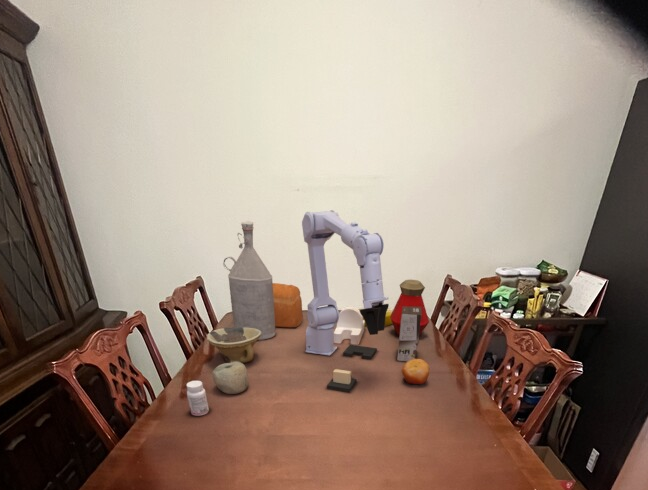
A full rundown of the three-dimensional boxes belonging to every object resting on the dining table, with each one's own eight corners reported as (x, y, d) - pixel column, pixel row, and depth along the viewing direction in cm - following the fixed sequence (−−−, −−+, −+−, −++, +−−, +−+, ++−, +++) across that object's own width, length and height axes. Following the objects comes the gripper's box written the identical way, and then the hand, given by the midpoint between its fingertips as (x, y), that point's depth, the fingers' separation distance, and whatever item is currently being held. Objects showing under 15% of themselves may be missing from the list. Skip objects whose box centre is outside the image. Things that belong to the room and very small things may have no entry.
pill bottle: (192, 407, 114) (186, 380, 109) (210, 407, 114) (205, 379, 109) (189, 416, 110) (183, 388, 105) (207, 415, 110) (202, 387, 105)
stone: (258, 369, 125) (243, 356, 116) (248, 401, 124) (232, 391, 114) (229, 364, 128) (212, 351, 119) (220, 396, 127) (202, 385, 117)
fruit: (430, 371, 130) (432, 355, 123) (426, 392, 127) (427, 377, 120) (405, 368, 132) (404, 352, 125) (399, 388, 129) (399, 374, 122)
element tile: (373, 313, 184) (374, 302, 182) (400, 321, 175) (401, 310, 172) (349, 321, 176) (350, 309, 173) (376, 329, 167) (377, 318, 164)
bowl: (274, 359, 142) (272, 332, 137) (231, 375, 131) (227, 346, 126) (242, 346, 152) (239, 320, 147) (200, 360, 141) (195, 333, 136)
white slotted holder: (332, 342, 155) (333, 314, 149) (341, 327, 169) (341, 300, 163) (358, 344, 153) (359, 315, 147) (364, 328, 168) (365, 301, 162)
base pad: (342, 355, 144) (343, 352, 144) (349, 347, 151) (350, 344, 150) (370, 359, 141) (371, 356, 141) (376, 351, 148) (376, 348, 147)
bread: (296, 329, 167) (294, 289, 158) (234, 325, 171) (230, 286, 162) (304, 318, 178) (303, 280, 170) (246, 315, 182) (242, 278, 174)
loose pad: (327, 388, 123) (327, 374, 121) (336, 376, 130) (337, 362, 128) (349, 392, 121) (349, 377, 119) (358, 379, 128) (358, 365, 126)
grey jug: (237, 328, 168) (224, 219, 146) (279, 330, 166) (272, 219, 145) (227, 339, 157) (211, 223, 136) (272, 341, 156) (263, 224, 134)
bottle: (434, 336, 160) (442, 283, 149) (409, 344, 154) (415, 288, 143) (406, 325, 171) (411, 274, 160) (381, 332, 164) (384, 279, 154)
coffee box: (415, 362, 139) (421, 314, 131) (396, 360, 140) (401, 313, 132) (416, 352, 147) (422, 306, 138) (398, 350, 148) (402, 305, 139)
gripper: (379, 280, 106) (385, 334, 110) (391, 279, 118) (396, 327, 123) (353, 285, 108) (359, 337, 113) (368, 282, 121) (373, 330, 125)
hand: (377, 332), depth 118 cm, fingers open, 7 cm apart
